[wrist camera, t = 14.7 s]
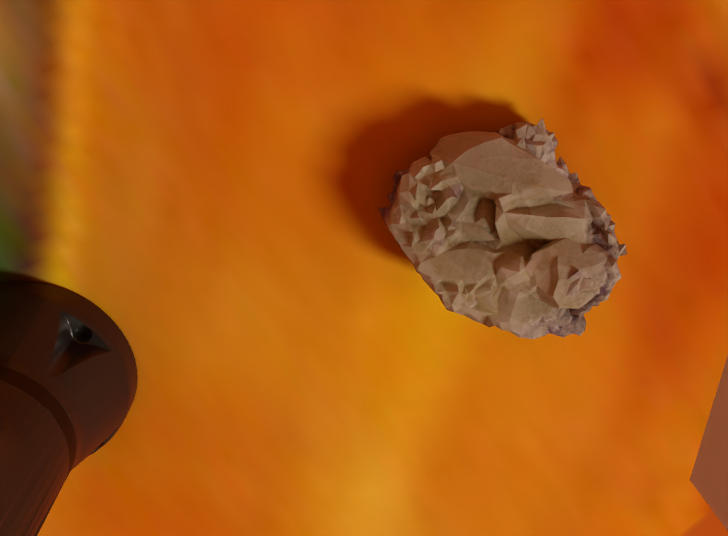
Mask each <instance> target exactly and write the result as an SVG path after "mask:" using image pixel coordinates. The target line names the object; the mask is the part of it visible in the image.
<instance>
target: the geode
mask: <svg viewBox="0 0 728 536" xmlns="http://www.w3.org/2000/svg"><path fill="white" fill-rule="evenodd" d="M554 134H555V133H552V132H549V131H548V130H546V128H545V125H544V122H543V118H542V119H541V120H540V122H539V123H538V124H537V125H534V124H531V123H529V122H515V124H514V126H512V125H511V124H510V125H508V126H506V127H504V128H502V127H501V129H500V130H499V131H498V132H485V131H468V132H459V133H454V134H450V135H447V136H445V137H442V138H440V140H439V141H438V143H437V144H436V146H435V147H434V148H433V149H432V150H431V151H430V154H431V160H430V159H429V158H427V157H426V156H424V157H422V158H420V159H418V160H416V161H414V162H412V164H411V166H410V167H409V168H408V169H406V170H401V171H397V172H396V174H395V175H394V176H393V179H394V185H393V192H391V193H390V194H388V197H389V200H390V204H391V206H389V207H387V208H378V209H379V211H380V213H381V215H382V217H383V219H384V221H385V223H386V225H387V227H388V229H389V231H390V232H391V233H392V235H393V236H394V238H395V239H396V241H397V243H398V244H399V246H400V248H401V249H402V251H403V252H404V253H405V255H406V256H407V257H408V258H409V259H410V261H411V262H412V264H413V265H414V266H415V269H416V272H418V273H419V274H420V275H421V276H422V278H423V280H424V281H425V282H426V283H427V284H428V285H429V287H430V288H431V289H432V290H433V291H434V292H435V293H436V294H437V295H438V296H439V298H440V299H441V301H442V303H443V304H444V306H445V307H446V309H447V310H449V311H452V312H455V313H458V314H461V315H465V316H466V317H468V318H470V319H472V320H474V321H477V322H479V323H482V324H484V325H486V326H488V327H491V326H494V325H495V326H496V327H498V328H500V329H501V330H506V331H510V332H511V333H513V334H515V335H516V336H518V337H522V338H529V339H535V338H538V337H542V336H545V335H546V334H548V333H551V334H554V335H558V336H561V337H565V336H567V335H570V334H577V335H579V336H580V335H581V334H582V333H583V332H584V331H585V326H586V321H585V318H584V315H583V314H584V313H586V312H588V311H590V309H591V307H592V306H598V305H599V303H600V302H601V301H605V300H608V297H609V295H610V292H611V290H612V288H613V287H614V285H615V283H616V282H617V281H618V280H619V279H620V278H622V277H621V274H620V271H619V268H618V265H617V259H618V257H619V256H621V255H627V251H626V248H625V247H626V244H622V245H619V243H618V241H617V238H616V235H615V232H614V227H615V223H614V222H612V221H611V215H608V213H606V209H605V208H604V207H603V206H602V205H601V204H600V203H599V202H598V201H597V200H596V198H595V197H594V195H593V193H592V190H591V188H589V187H586V186H582V185H580V182H579V178H578V175H577V173H572V174H569V172H568V169H567V166H566V163H565V162H564V161H563V159H562V158H561V157H560V158H559V160H558V162H557V163H556V160H555V152H554V150H555V148H556V146H557V144H558V141H557V139H556V138H555V137H554Z"/></svg>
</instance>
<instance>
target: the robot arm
mask: <svg viewBox="0 0 728 536" xmlns="http://www.w3.org/2000/svg"><path fill="white" fill-rule="evenodd" d="M136 389H137V367H136V362H135V358H134V355H133V352H132V350H131V347H130V345H129V343H128V341H127V339H126V338H125V336H124V334H123V333H122V331H121V330H120V329H119V327H118V326H117V325H116V324H115V323H114V321H113V320H112V319H111V318H110V317H109V316H108V315H107V314H105V313H104V312H103V311H102V310H101V309H100V308H98V307H97V306H95V305H94V304H93V303H91V302H90V301H88V300H86V299H85V298H83V297H81V296H79V295H77V294H75V293H73V292H70V291H68V290H65V289H63V288H59V287H56V286H52V285H49V284H43V283H37V282H7V283H0V536H37V535H38V533H39V531H40V529H41V527H42V525H43V523H44V521H45V519H46V517H47V515H48V513H49V511H50V509H51V507H52V505H53V504H54V502H55V500H56V498H57V496H58V494H59V492H60V490H61V488H62V486H63V484H64V482H65V480H66V478H67V476H68V475H69V473H70V471H71V470H72V469H73V468H75V467H76V466H77V465H78V464H79V463H80V462H82V461H83V460H84V459H85V458H86V457H87V456H89V455H91V454H93V453H94V452H96V451H97V450H98V449H100V448H101V447H102V446H104V445H105V444H106V443H107V442H108V441H109V440H110V439H111V438H112V437H113V436H114V435H115V433H116V432H117V431H118V430H119V428H120V427H121V425H122V423H123V422H124V420H125V418H126V416H127V413H128V411H129V409H130V407H131V405H132V403H133V400H134V397H135V394H136ZM690 481H691V482H692V483H693V485H694V486H695V487H696V489H697V490H698V491H699V493H700V494H701V495H702V497H703V498H704V500H705V501H706V502H707V504H708V505H709V506H710V508H711V509H712V510H713V512H714V513H715V514H716V516H717V517H718V518H719V520H720V521H721V522H722V524H723V525H724V526H725V528H726V529H727V530H728V356H727V359H726V363H725V366H724V369H723V373H722V376H721V379H720V382H719V386H718V389H717V392H716V396H715V399H714V402H713V405H712V409H711V412H710V415H709V419H708V422H707V425H706V428H705V432H704V435H703V438H702V442H701V445H700V448H699V451H698V455H697V458H696V461H695V465H694V468H693V471H692V474H691V478H690Z"/></svg>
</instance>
